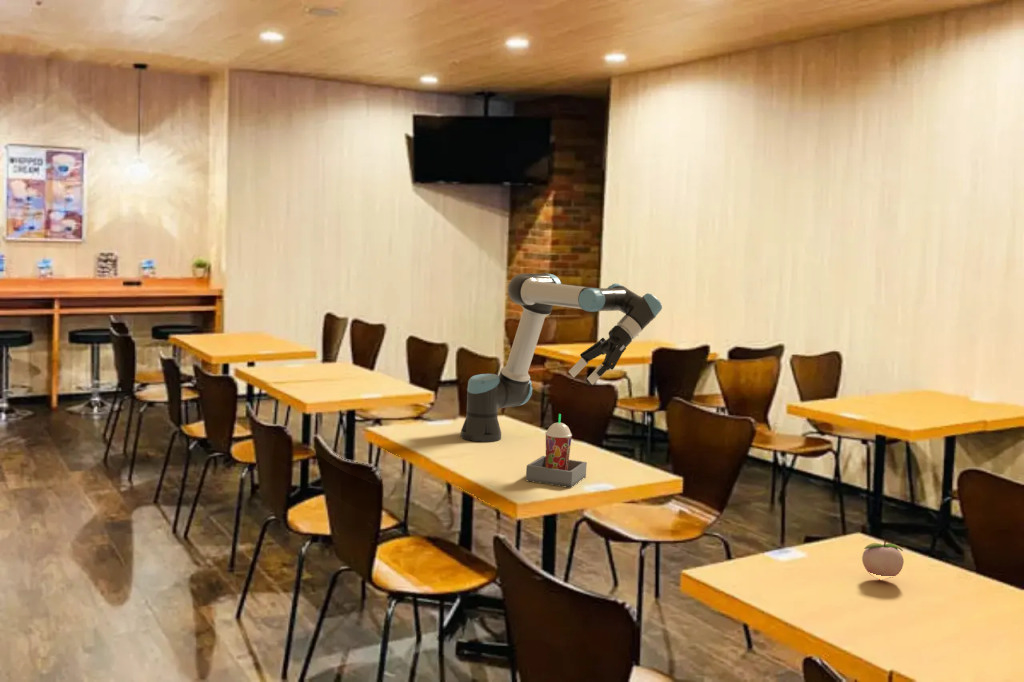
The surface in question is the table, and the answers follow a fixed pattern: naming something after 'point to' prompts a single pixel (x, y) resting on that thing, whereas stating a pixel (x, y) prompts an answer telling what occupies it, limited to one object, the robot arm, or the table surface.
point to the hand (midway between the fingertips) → (580, 378)
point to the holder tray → (556, 473)
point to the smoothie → (558, 446)
